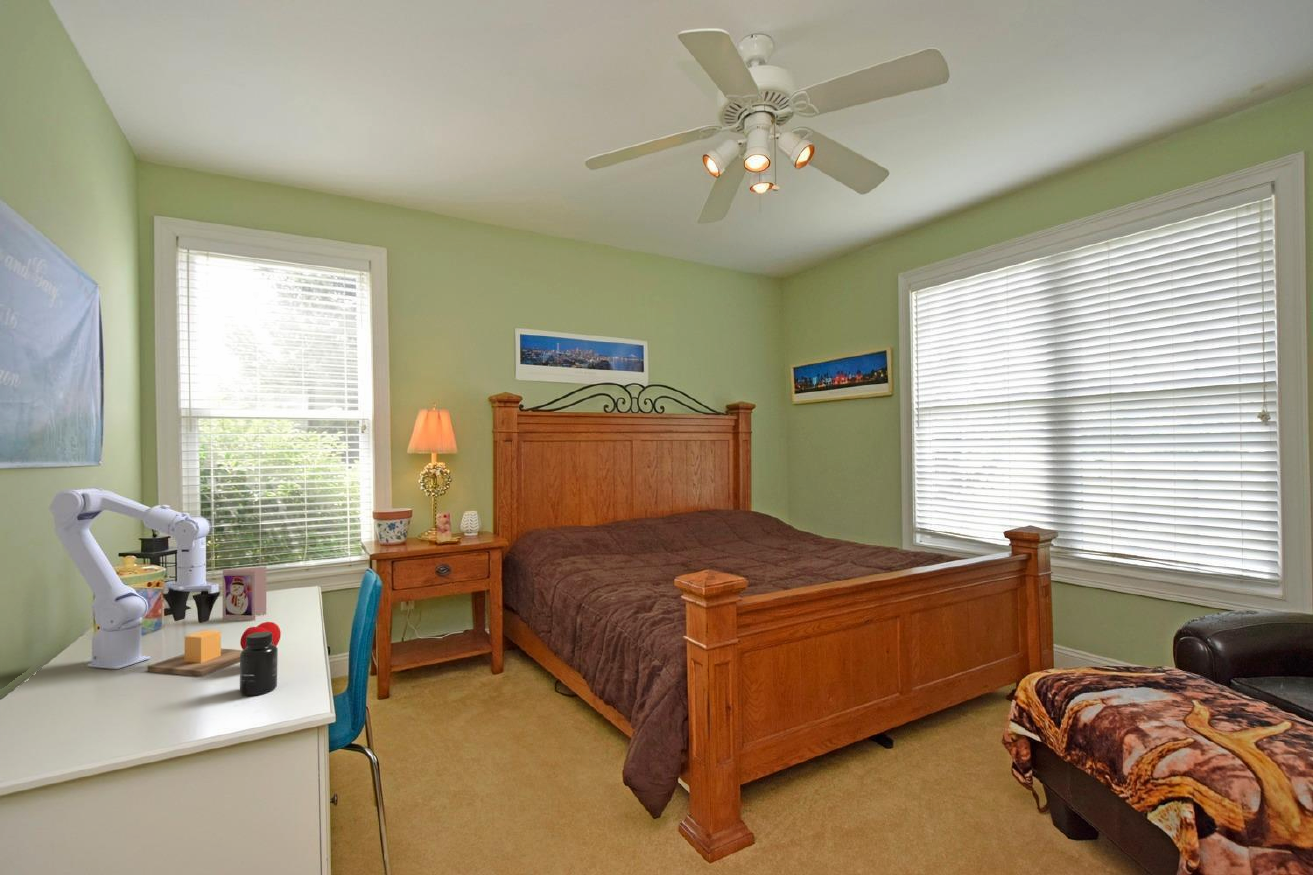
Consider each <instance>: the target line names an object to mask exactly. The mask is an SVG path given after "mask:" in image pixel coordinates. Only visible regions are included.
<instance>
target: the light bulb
mask: <svg viewBox="0 0 1313 875" xmlns="http://www.w3.org/2000/svg"><path fill="white" fill-rule="evenodd" d="M257 632H272V634H273V638H272V639H273V642H272V643H271V644H274V645H275V646H276V647H277V646H278V644H279V643H280V640H281V634H282V633H281V628H280V627H279V625H278V624H276V623H275V622H273V621H265V622H261V623H260V624H258V625H257V626H250V627H248V628H246V629H245V630H244V632H243V633H242V636H241V638H240V647H241V650H244V649H245V648H246V647H247V646H246V636H248V635H249V634H252V633H257Z"/></svg>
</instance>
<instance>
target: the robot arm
mask: <svg viewBox="0 0 1313 875" xmlns="http://www.w3.org/2000/svg"><path fill="white" fill-rule="evenodd" d="M48 508H49V509H48V510H50V512H51V514H52V515H53V519H54V532H55V534H56V536H57V538H58V540H59V541H60V543H61V544H62V546H63V547H64V549H65V551H66V552H67V553H68V556H69V557H70V559H71V560H72V561H73V563H74V565H75V566H76V568H77V569H78V571H79V573H80V575H81V576H82V577H83V579H84V580H85V582H86V584H87V586H89V589H90V590H91V592H92V593H93V595H94V599H93V601H92V603H91V609H92V610H93V613H94V620H95V623H96V625H97V626H98V627H99V629H97V630H96V631H95V632H94V634H93V635H92V639H91V663H88V664H87V667H90V668H98V669H99V668H100V669H111V670H118V669H122V668H125V667H128V666H130V665H135V664H137V663H140V662H143V661H146V660H149V659H151V658H152V657H151V656H149V655H142V622H143V617H144V616H145V615H146V614H147V612H148V610H149V603H148V601H147V599H146V598H145V597H144V596H142V595H140V594H139V593H138V592H137V591H136V589H135V588H134V587H131V586H129V585H126V584H125V583H123V582H122V580H121V579H120V576H118V574H117V571H116V570H115V569H114V567H113V566H112V564H111V563H110V560H109V559H108V558H107V556H106V554H105V553H104V551H103V550H102V549H101V547H100V545H99V544H98V542H97V541H96V538H95V537H94V535H93V534H92V532H91V530H90V528H91V526H92V524H93V523H94V521H95V520H96V519H97V518H98V517H99V516H100V515H101V513H103V512H104V511H111V512H112V513H117V514H121V515H124V516H128V517H130V518H134V519H136V520H137V519H138V520H141V521H142V522H143V525H144V527H145V528H147V529H152V530H154V531H157V532H161V533H162V534H165V535H168V536H171V537H172V538H173V540H174V541H175V542H176V552H177V554H176V559H177V561H176V562H177V563H176V579H177V580H176V581H170V582H169V581H168V582H166V583H165V582H164V592H166V593H163V594H162V598H163V599H164V600H165V601H166V603H167V605H168V606H169V608H170V612H171V614H172V617H173V621H174V622H178V621H182V620H185V619H186V612H187V602H188V599H189V595H190V593H191V592H192V593H196V594H193V595H192V598H193V601H194V602H195V606H196V610H197V611H196V613H197V621H198V623H199V624H203V623H205V622H209V621H210V617H211V614H212V611H213V608H214V605H215V603H216V601H217V600H218V598H219V596H220V595H221V592H220V590H219V589H220V588H219V587H220V586H219V583H213V582H209V581H207V536H208V535H209V534H210V532H211V530H212V529H211V526H212V525H211V522H210V521H209V520H208V519H207V518H206V517H203V516H202V515H196V516H192V517H191V516H190V515H191V514H190V513H188V512H180V511H176V510H175V509H172V508H171V506H170V505H168V504H162V505H159V504H158V505H154V506H153V507H150V506H147V505H144V504H142V503H141V502H140V503H139V502H138V501H135V500H132V499H129V498H127V497H125V496H122V495H119V494H117V493H115V492H114V491H111V490H108V489H107V490H106V489H105V490H104V489H103V488H100V487H94V486H93V487H89V488H80V489H79V488H78V489H64V490H61V491H59V492H58V493H56V495H55V496H54V497H53V499H52V501H51V502H50V504H49V507H48ZM197 593H198V594H197Z"/></svg>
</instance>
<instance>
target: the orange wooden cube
mask: <svg viewBox="0 0 1313 875" xmlns="http://www.w3.org/2000/svg"><path fill="white" fill-rule="evenodd" d="M221 636H222V632H221V631H219V630H208V629H207V630H206V629H204V630H201V631H197V632H195V633H191V634H188V635H184V654H185V661H186V662H197V663H202V662H205V661H208V660H211V659H213V658H216V657H219V656H221V642H222V640H221V639H222V637H221Z"/></svg>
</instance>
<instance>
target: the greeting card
mask: <svg viewBox="0 0 1313 875" xmlns="http://www.w3.org/2000/svg"><path fill="white" fill-rule="evenodd" d="M261 614H266V615H267V566H259V567H246V568H236V569H235V568H233V569H223V570H222V620H228V619H241V620H240V621H252V620H255V621H256V616H255V615H258V616H262V615H261Z"/></svg>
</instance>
